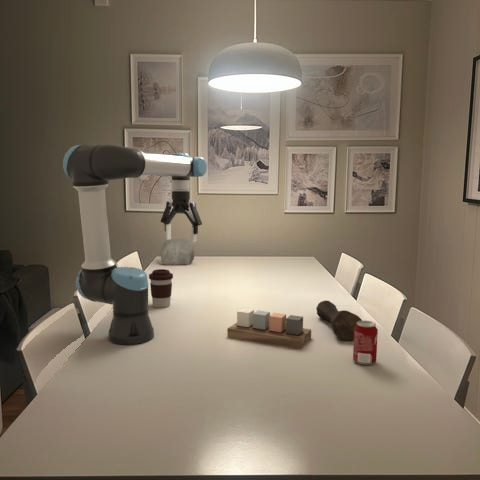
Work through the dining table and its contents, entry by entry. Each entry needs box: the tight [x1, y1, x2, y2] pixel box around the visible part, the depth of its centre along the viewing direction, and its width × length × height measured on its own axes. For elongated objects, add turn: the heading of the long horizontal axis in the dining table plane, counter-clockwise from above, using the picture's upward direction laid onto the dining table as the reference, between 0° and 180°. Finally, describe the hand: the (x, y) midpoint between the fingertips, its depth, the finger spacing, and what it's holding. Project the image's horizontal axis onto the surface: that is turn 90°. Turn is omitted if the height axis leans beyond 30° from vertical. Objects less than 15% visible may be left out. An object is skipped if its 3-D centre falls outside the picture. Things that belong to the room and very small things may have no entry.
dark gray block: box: [286, 314, 304, 335], centre depth 163 cm, size 4×4×5 cm
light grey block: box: [253, 310, 271, 330], centre depth 168 cm, size 4×4×5 cm
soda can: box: [352, 320, 379, 366], centre depth 145 cm, size 7×7×12 cm
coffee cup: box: [148, 268, 174, 309], centre depth 204 cm, size 10×10×15 cm
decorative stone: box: [160, 236, 195, 266], centre depth 294 cm, size 17×20×10 cm
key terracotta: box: [269, 312, 287, 332], centre depth 165 cm, size 4×4×5 cm
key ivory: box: [236, 307, 255, 327], centre depth 170 cm, size 4×4×5 cm
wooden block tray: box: [226, 322, 312, 350], centre depth 167 cm, size 12×26×3 cm, turn 65°
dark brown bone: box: [316, 300, 363, 342], centre depth 177 cm, size 11×10×28 cm
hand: (180, 240), depth 208 cm, fingers open, 13 cm apart
